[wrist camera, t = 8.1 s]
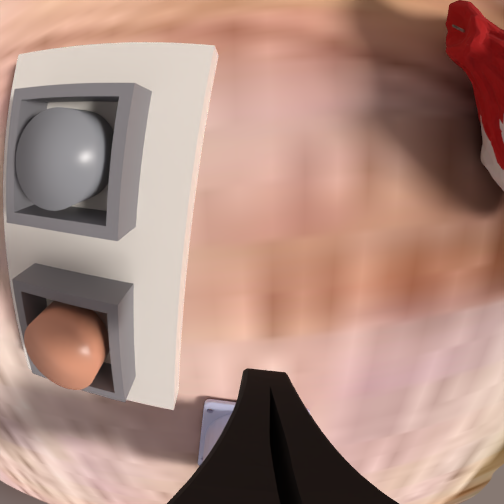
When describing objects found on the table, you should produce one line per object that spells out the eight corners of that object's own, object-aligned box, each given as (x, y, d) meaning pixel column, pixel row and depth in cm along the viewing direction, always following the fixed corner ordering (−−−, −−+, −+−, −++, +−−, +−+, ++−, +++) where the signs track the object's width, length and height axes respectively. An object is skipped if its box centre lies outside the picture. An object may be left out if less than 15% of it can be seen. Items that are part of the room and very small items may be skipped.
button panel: (178, 391, 22) (167, 436, 17) (40, 354, 21) (13, 388, 17) (218, 55, 15) (208, 28, 10) (36, 59, 14) (-7, 48, 10)
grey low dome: (113, 204, 15) (91, 216, 12) (41, 195, 14) (14, 205, 12) (124, 111, 13) (101, 106, 11) (48, 110, 13) (20, 109, 11)
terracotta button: (113, 371, 17) (99, 398, 15) (51, 353, 17) (33, 376, 15) (107, 307, 16) (89, 332, 13) (40, 291, 15) (17, 311, 13)
